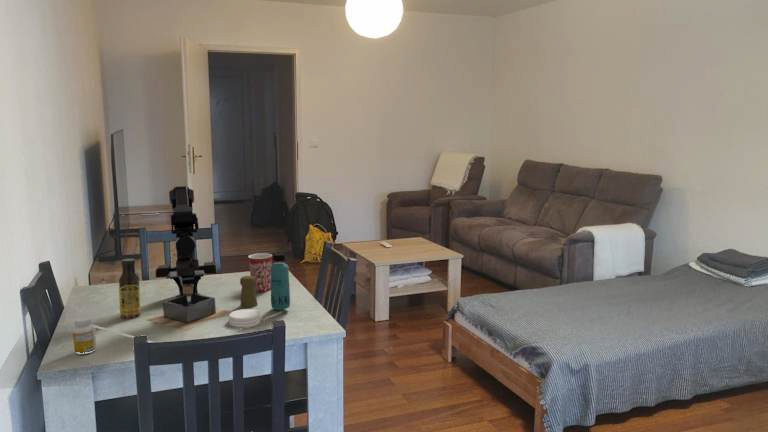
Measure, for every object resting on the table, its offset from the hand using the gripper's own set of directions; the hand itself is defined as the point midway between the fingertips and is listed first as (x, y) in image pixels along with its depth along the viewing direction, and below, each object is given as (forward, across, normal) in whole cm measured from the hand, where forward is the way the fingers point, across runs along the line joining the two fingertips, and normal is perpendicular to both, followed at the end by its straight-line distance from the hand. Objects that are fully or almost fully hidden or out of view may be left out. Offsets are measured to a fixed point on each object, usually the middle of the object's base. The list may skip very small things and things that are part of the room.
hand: (188, 294), depth 190 cm
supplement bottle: (+8, -26, -23) cm, 36 cm away
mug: (+8, +23, +29) cm, 38 cm away
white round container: (+8, +18, -11) cm, 22 cm away
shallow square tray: (+7, -1, +1) cm, 7 cm away
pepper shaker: (+8, +19, +6) cm, 22 cm away
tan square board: (+8, 0, 0) cm, 8 cm away
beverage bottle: (+8, +30, -1) cm, 31 cm away
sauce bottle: (+8, -19, +5) cm, 21 cm away
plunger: (+7, 0, 0) cm, 7 cm away
